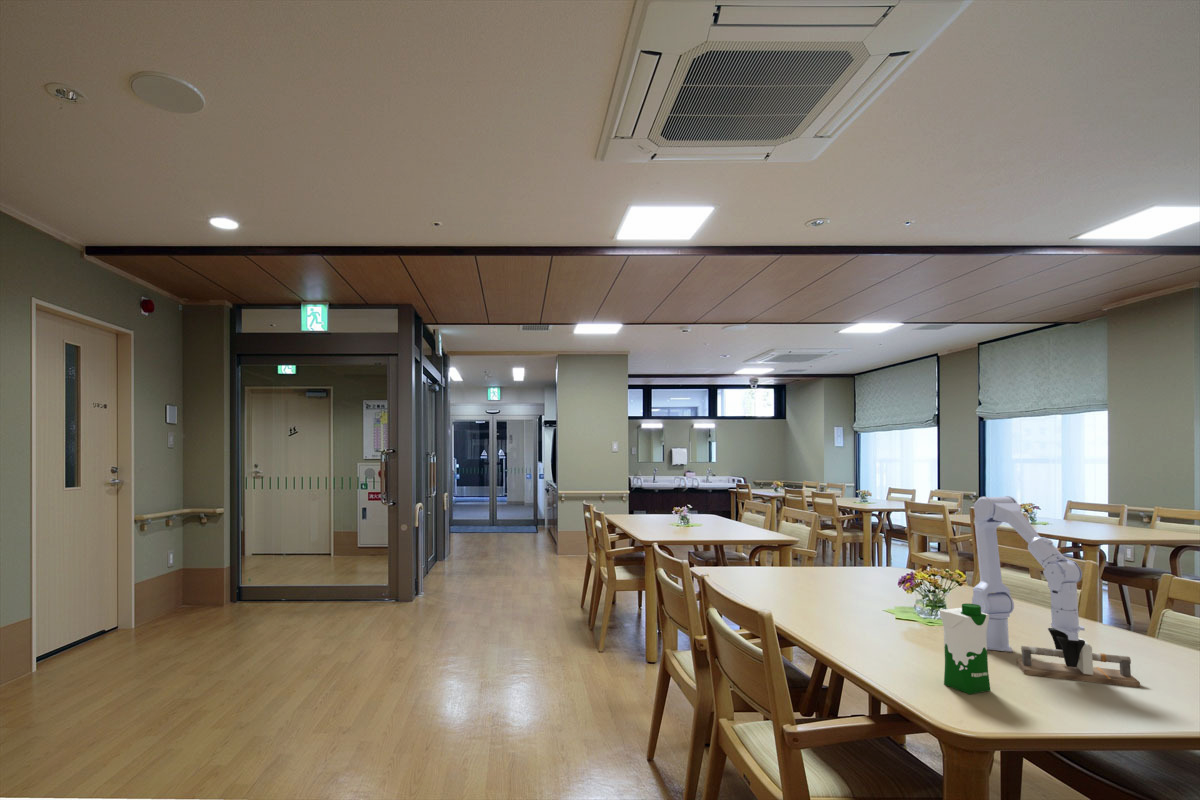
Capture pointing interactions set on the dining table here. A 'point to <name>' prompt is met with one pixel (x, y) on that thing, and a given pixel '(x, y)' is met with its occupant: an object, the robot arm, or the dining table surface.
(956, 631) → the milk carton
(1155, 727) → the dining table surface
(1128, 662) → the slider rail
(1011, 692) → the dining table surface
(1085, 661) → the collar
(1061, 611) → the robot arm
